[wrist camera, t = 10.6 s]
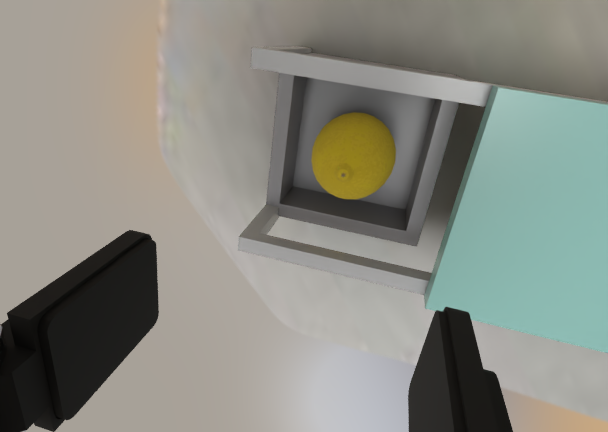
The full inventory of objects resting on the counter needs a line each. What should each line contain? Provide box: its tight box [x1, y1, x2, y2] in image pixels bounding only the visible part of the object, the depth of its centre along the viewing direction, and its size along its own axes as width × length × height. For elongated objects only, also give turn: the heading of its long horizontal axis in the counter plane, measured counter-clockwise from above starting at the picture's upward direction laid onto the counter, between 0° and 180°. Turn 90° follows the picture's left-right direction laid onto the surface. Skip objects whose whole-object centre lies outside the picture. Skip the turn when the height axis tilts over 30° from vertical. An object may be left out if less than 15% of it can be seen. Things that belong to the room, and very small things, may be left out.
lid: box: [424, 85, 608, 353], centre depth 18 cm, size 12×12×3 cm
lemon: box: [311, 112, 396, 199], centre depth 26 cm, size 6×6×8 cm
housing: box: [238, 46, 608, 295], centre depth 25 cm, size 12×24×10 cm, turn 82°
